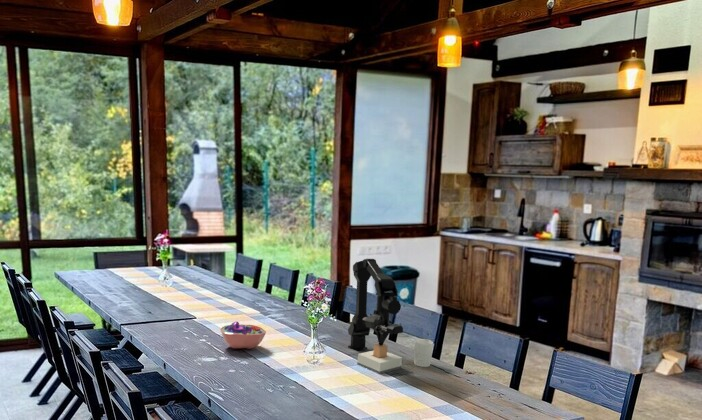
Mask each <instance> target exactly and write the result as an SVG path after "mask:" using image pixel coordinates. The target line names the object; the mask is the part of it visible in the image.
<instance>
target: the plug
mask: <svg viewBox="0 0 702 420" xmlns="http://www.w3.org/2000/svg"><path fill="white" fill-rule="evenodd" d="M388 348H389V347H388V345H387V344H385V343H383V345H379V343H377V344H374V345H373V350H374V352H373V356H374V357H376V358H379V359H380V358H384V357H387V352H388Z"/></svg>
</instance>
